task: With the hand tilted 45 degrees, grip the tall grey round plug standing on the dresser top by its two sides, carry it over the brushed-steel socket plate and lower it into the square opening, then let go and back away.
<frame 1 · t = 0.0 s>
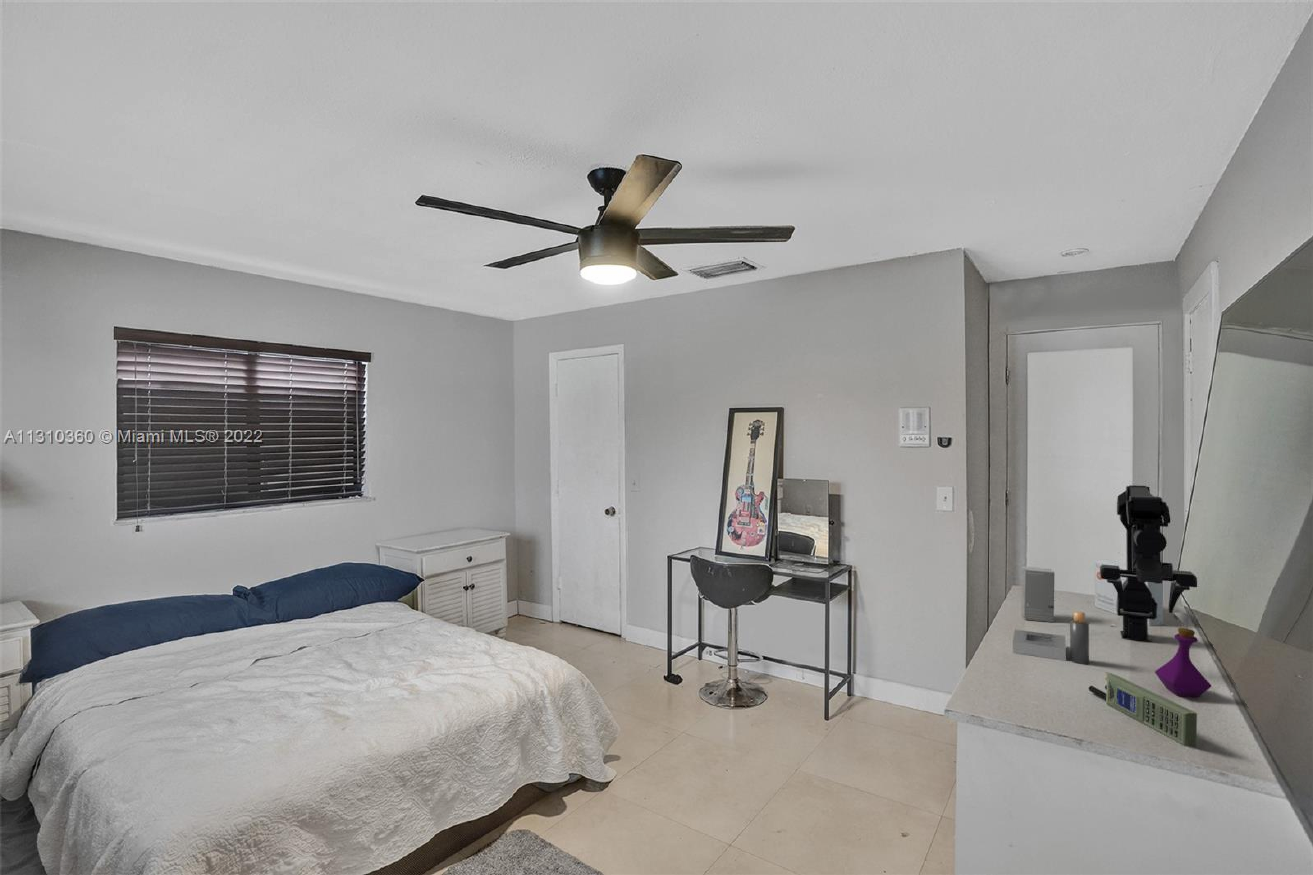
hand: (1146, 610, 158), 15 cm above the dresser, tool pointing down, fingers open, 9 cm apart
handheld radio: (1136, 719, 133), on the dresser
plug: (1079, 661, 164), on the dresser
skincare box 2: (1127, 616, 204), on the dresser
socket plate: (1039, 649, 173), on the dresser
skincare box: (1037, 619, 202), on the dresser
perfume bottle: (1182, 693, 144), on the dresser
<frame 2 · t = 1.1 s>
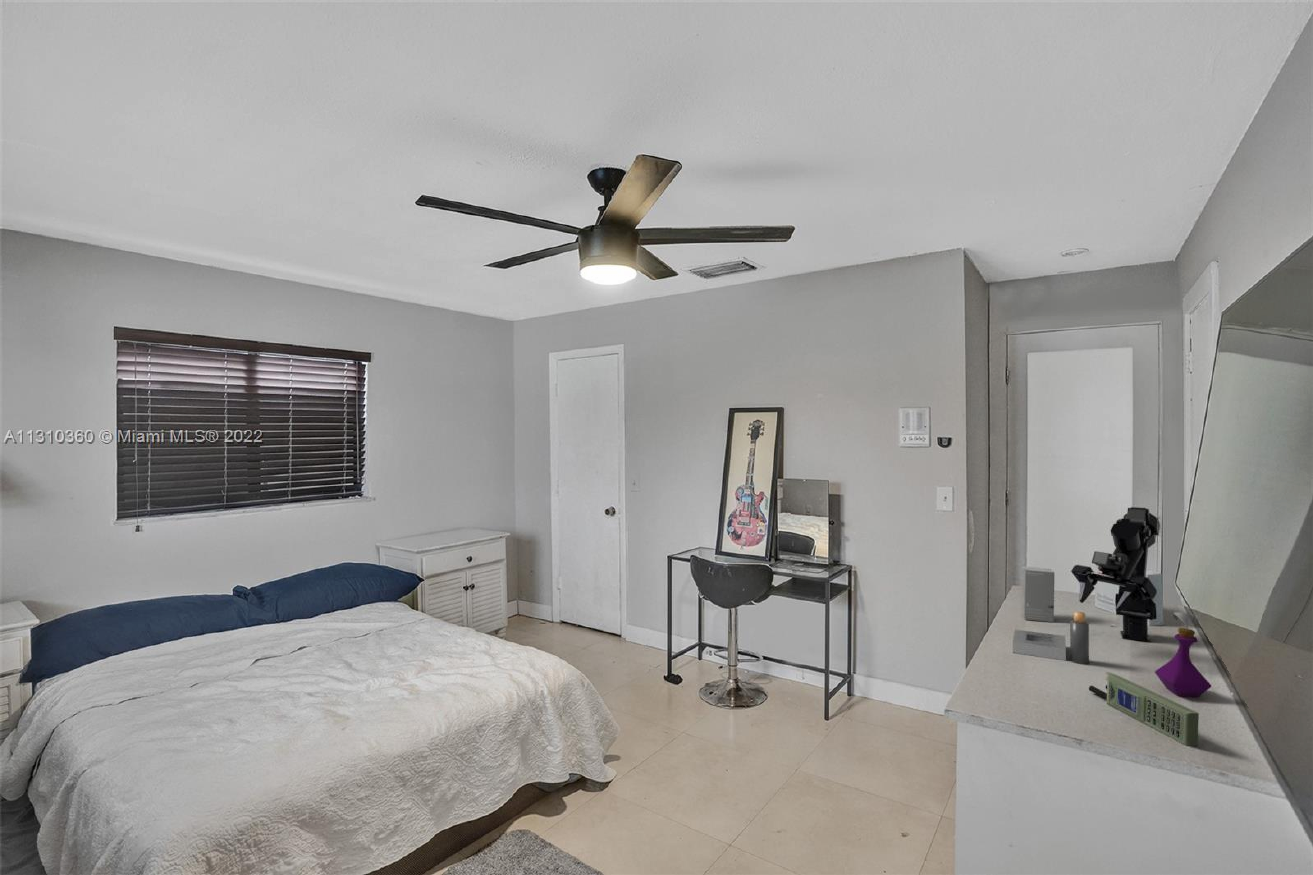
hand: (1098, 606, 168), 13 cm above the dresser, tool tilted 45°, fingers open, 9 cm apart
nothing on the dresser moved.
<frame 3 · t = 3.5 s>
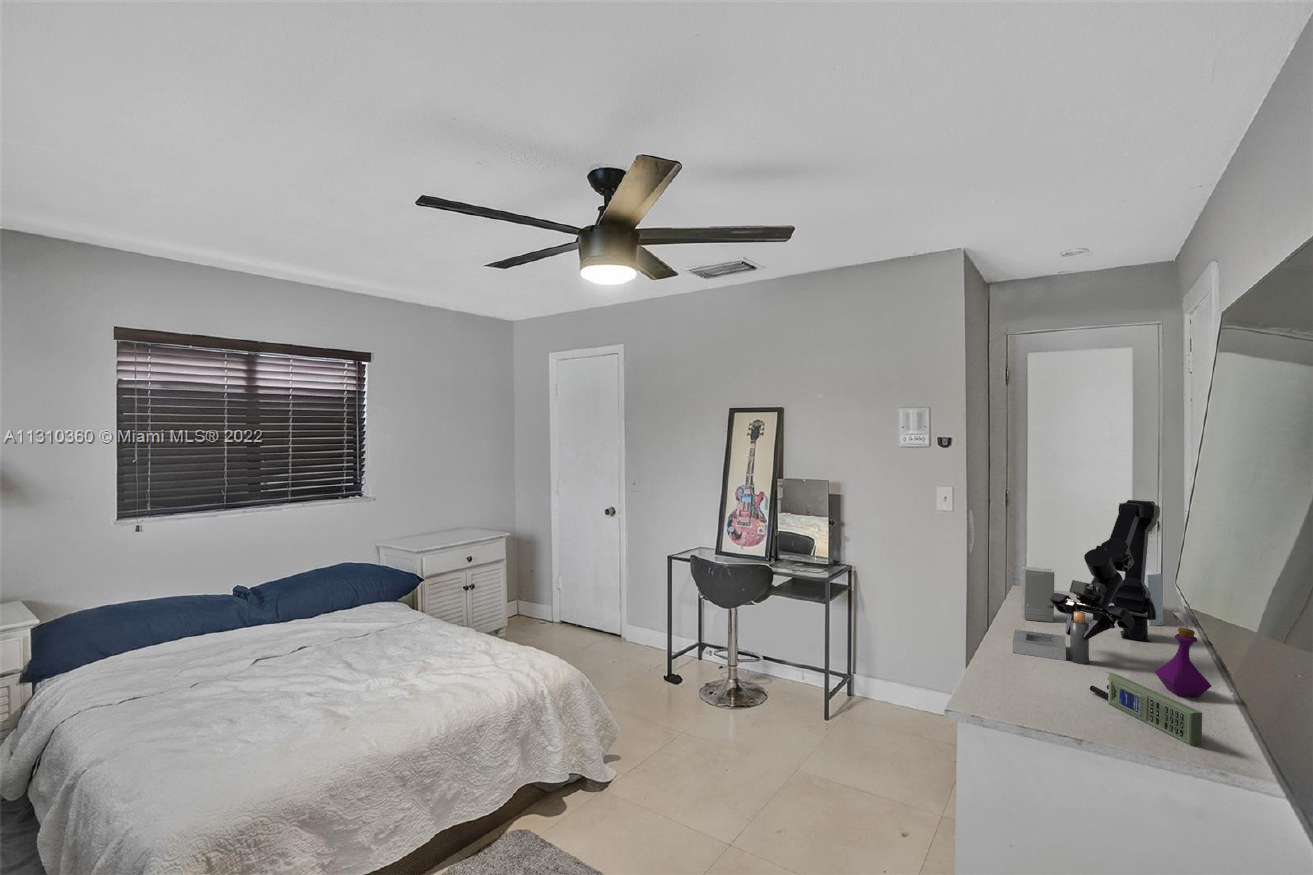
hand: (1075, 636, 164), 7 cm above the dresser, tool tilted 45°, fingers closed on plug, 4 cm apart
plug: (1079, 661, 164), on the dresser, touching gripper
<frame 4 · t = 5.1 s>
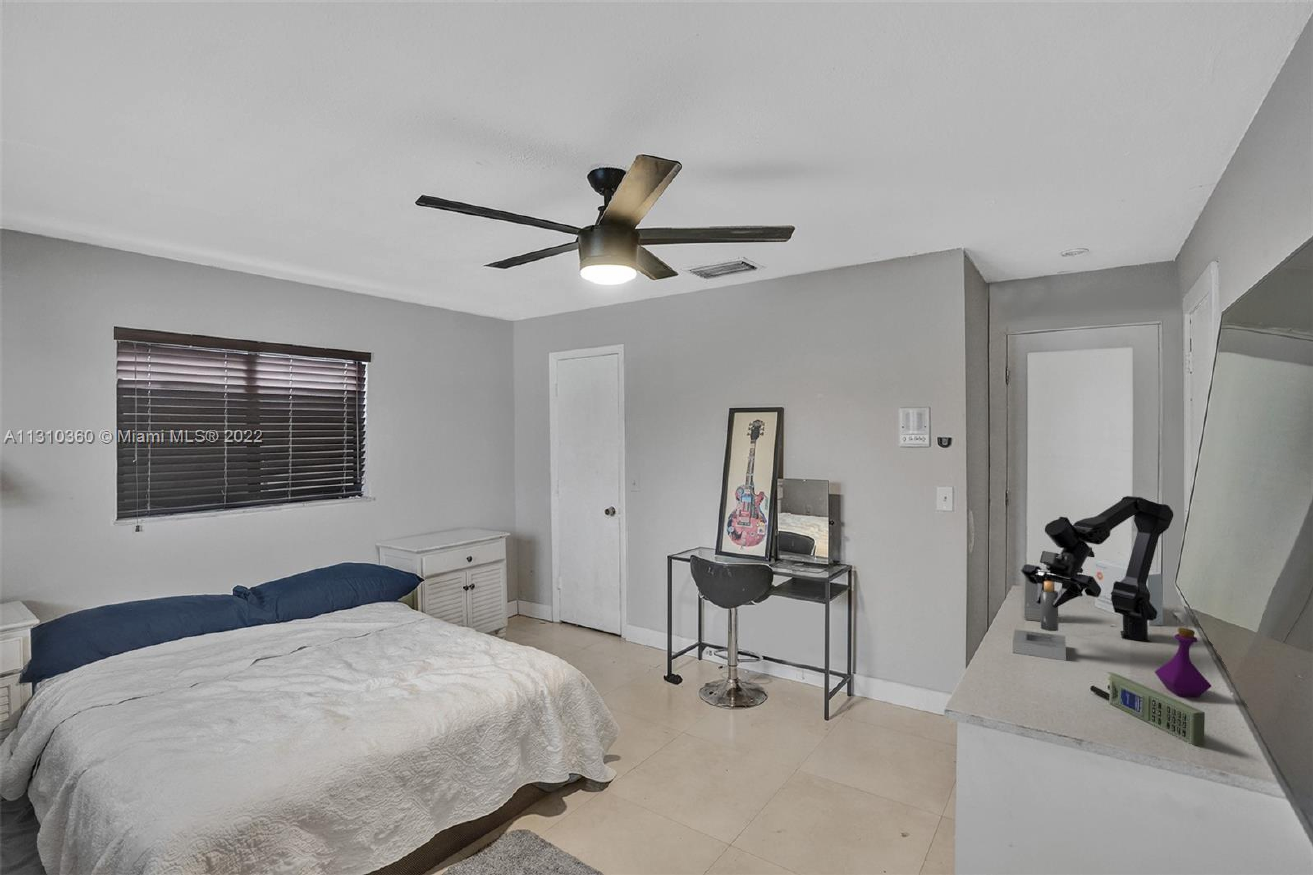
hand: (1045, 604, 170), 13 cm above the dresser, tool tilted 45°, fingers closed on plug, 4 cm apart
plug: (1049, 628, 171), point 6 cm above the dresser, touching gripper
when the fingers open (8 cm above the dresser, at t = 6.8 s): plug drops 1 cm, resting in socket plate.
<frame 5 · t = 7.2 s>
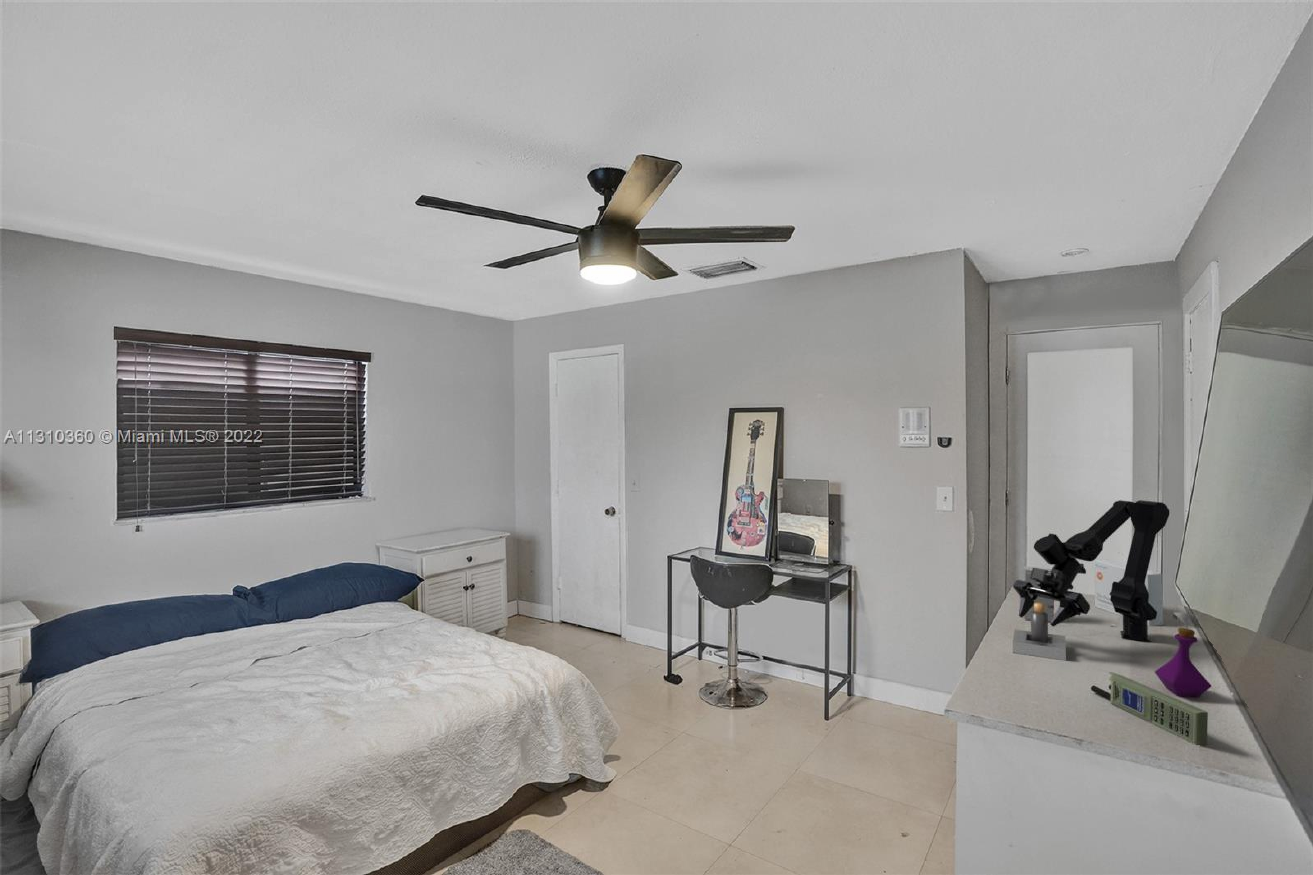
hand: (1035, 620, 173), 8 cm above the dresser, tool tilted 45°, fingers open, 9 cm apart
plug: (1039, 649, 173), resting in socket plate
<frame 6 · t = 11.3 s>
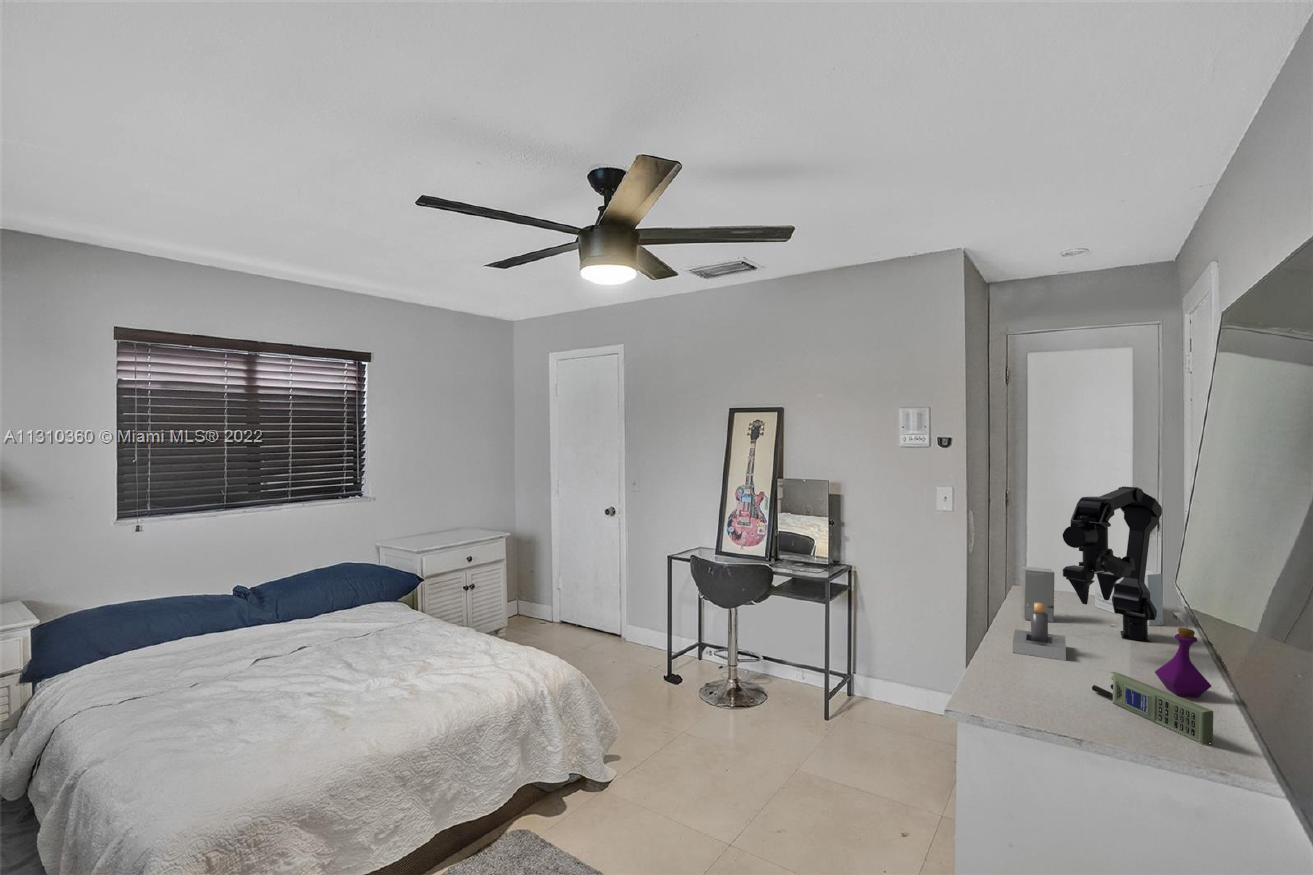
hand: (1095, 602, 172), 13 cm above the dresser, tool pointing down, fingers open, 9 cm apart
at the end: plug 0.0 cm off-centre on the socket plate, point 0.0 cm above the socket plate's base; plug tilted 0°; the gripper is holding nothing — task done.
